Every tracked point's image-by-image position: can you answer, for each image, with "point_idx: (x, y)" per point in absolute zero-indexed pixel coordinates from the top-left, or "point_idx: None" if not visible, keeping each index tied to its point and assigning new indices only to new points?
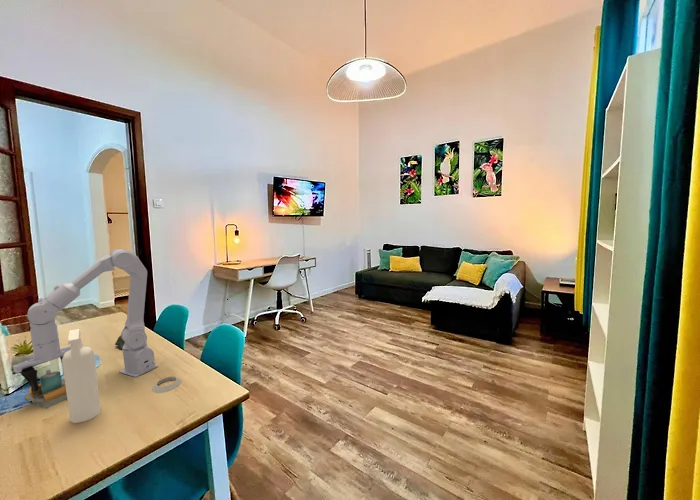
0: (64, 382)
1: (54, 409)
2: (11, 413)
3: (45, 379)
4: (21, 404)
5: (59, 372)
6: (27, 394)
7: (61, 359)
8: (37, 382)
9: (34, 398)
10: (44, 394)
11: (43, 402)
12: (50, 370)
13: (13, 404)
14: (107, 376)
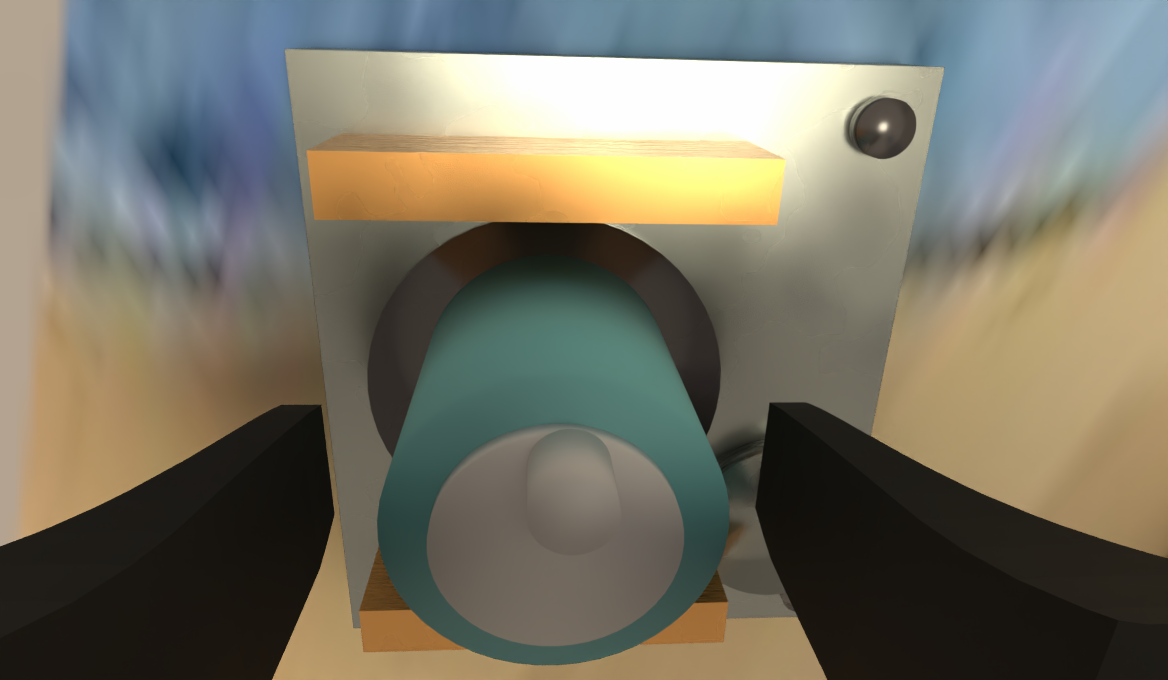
0: (769, 239)
1: (406, 670)
2: (97, 330)
3: (429, 613)
4: (232, 180)
5: (706, 563)
6: (310, 97)
7: (1003, 621)
8: (281, 656)
9: (327, 365)
10: (363, 628)
11: (354, 582)
12: (609, 526)
13: (159, 49)
14: (1087, 468)
